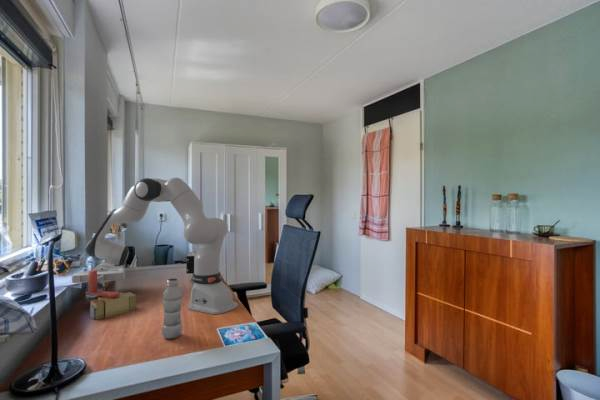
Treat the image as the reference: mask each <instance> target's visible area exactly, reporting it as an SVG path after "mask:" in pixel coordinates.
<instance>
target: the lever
mask: <svg viewBox="0 0 600 400" xmlns="http://www.w3.org/2000/svg"><path fill="white" fill-rule="evenodd" d="M88 271H89V282H88V293H87V294H88V295H89V296H100V297H103V296H108V297H117V296H119V295H120V293H121V292H120V291H105V290H104V291H103V290H98V282H97V270H93V269H92V270H88Z"/></svg>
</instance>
